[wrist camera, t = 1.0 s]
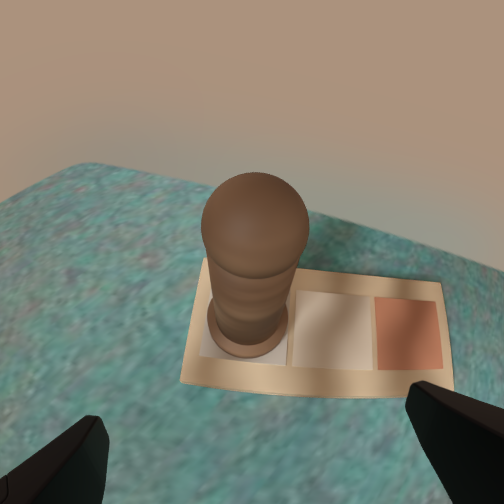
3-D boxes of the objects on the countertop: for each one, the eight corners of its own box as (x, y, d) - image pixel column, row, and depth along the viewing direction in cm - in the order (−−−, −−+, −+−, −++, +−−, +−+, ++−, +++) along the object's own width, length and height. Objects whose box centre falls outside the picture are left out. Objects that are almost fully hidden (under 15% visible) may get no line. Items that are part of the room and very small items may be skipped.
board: (435, 288, 26) (441, 282, 25) (447, 394, 21) (454, 391, 20) (204, 264, 27) (203, 257, 26) (182, 383, 21) (179, 380, 20)
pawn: (301, 321, 23) (359, 193, 12) (246, 374, 21) (259, 283, 10) (247, 273, 25) (257, 128, 14) (192, 319, 23) (154, 187, 12)
